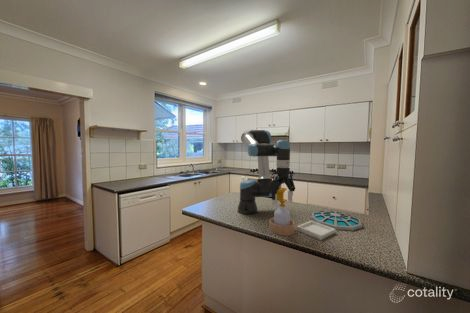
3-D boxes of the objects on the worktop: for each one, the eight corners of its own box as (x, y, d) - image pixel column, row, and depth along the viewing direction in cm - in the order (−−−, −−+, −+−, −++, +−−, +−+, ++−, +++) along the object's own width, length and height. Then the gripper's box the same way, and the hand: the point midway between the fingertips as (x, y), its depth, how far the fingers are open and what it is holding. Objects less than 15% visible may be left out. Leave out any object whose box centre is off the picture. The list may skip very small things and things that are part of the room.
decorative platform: (303, 221, 127) (303, 213, 127) (320, 210, 148) (320, 204, 148) (356, 236, 106) (356, 227, 105) (367, 222, 126) (367, 214, 126)
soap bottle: (292, 229, 113) (293, 188, 111) (284, 234, 106) (285, 191, 105) (279, 225, 119) (280, 186, 118) (270, 229, 113) (271, 188, 111)
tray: (296, 230, 112) (296, 226, 112) (311, 224, 120) (311, 220, 120) (320, 240, 100) (320, 235, 99) (335, 233, 108) (335, 229, 108)
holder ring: (264, 228, 114) (264, 220, 114) (280, 223, 122) (280, 215, 122) (283, 237, 103) (283, 228, 102) (299, 231, 111) (299, 222, 111)
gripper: (272, 168, 100) (272, 208, 101) (301, 166, 115) (301, 201, 116) (262, 167, 107) (262, 205, 107) (291, 165, 121) (291, 198, 122)
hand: (282, 203), depth 111 cm, fingers open, 13 cm apart
